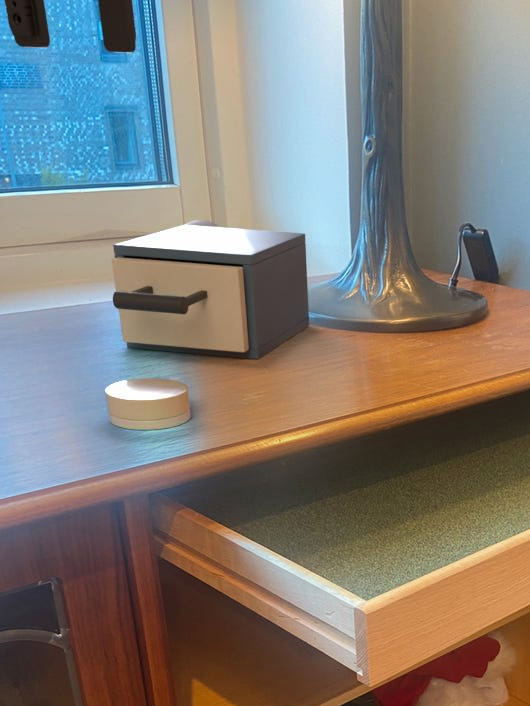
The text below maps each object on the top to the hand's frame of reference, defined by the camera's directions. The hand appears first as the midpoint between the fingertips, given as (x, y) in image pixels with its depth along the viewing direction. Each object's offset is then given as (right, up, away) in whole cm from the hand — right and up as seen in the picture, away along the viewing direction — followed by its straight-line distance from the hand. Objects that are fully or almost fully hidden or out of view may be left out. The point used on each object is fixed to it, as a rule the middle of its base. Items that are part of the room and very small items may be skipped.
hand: (79, 50), depth 65 cm
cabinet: (+2, -10, +29) cm, 31 cm away
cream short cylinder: (+3, -23, +7) cm, 24 cm away
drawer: (+1, -12, +25) cm, 27 cm away
